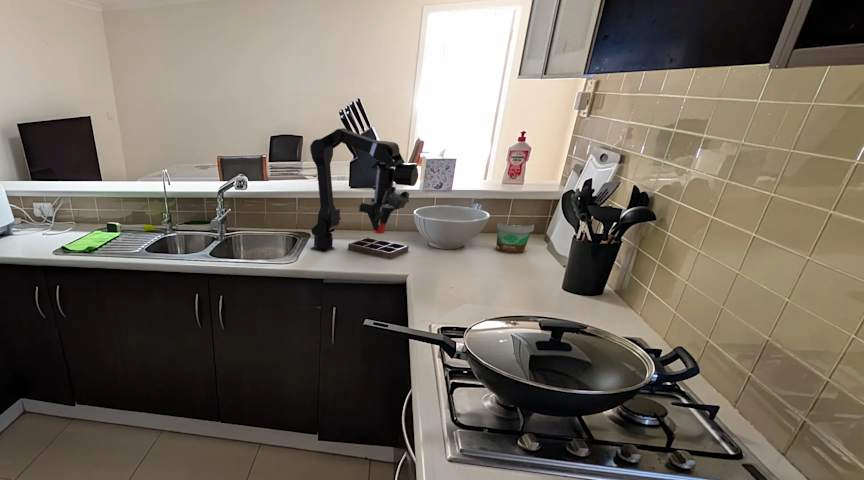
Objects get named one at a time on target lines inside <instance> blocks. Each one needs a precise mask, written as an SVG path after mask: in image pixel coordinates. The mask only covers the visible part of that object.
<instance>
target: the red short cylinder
mask: <svg viewBox="0 0 864 480" xmlns="http://www.w3.org/2000/svg"><path fill="white" fill-rule="evenodd" d="M386 226H387V223H386V224H385V223H382V222H380V221H379V225H378V229H377V231H375V230H374V229H373V228H372V229H373V230H372V233H374V234H380V235H382V234H385V233H386Z"/></svg>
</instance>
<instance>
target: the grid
mask: <svg viewBox="0 0 864 480" xmlns="http://www.w3.org/2000/svg"><path fill="white" fill-rule="evenodd" d="M409 247H410V245H407V244H402V243H396V242H392V241H388V240H384V239H383V240H382V239H377V238H372V237H363V238H361V239H358V240H356V241H353V242H350V243H348V245H347V250H348V251H352V252H357V253H360V254H365V255H369V256H373V257H374V256H375V257H378V258H383V259H386V260H391V259H393V258H396V257H398V256H401V255H403V254H406V253H409Z"/></svg>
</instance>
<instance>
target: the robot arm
mask: <svg viewBox="0 0 864 480" xmlns="http://www.w3.org/2000/svg"><path fill="white" fill-rule="evenodd" d="M341 144H344V145H347V146H350V147H352V148H355V149H357V150H360V151H363V152H366V153H367V154H369V155H370V156H371V157H372V158H373V159H375V160H376V161H375V163H374V164H373V165H371V167H370V168H371V169H375V170H376V177H375V185H373V186H372V190H374V195H373V198H371V200H370V201H365V202H361V203H360V204H359V206H358V212H361V213H366V214H367V216H368V218H369V220H370V223H371V226H372V229H374V230H375V231H377V229H378V225H379V222H382V223H385V224H386V225H387V222H388V221H389V219H390V216H391V214H393V212H394V211H397V210H399V209H403V208H405V206H406V204H407V203H409V202H410V201H409V199H410V197H409V196H410V193H409V191H406V190H405V191H402V192H397V187H396V186H395V185H400V186H410V187H414V186H415V185H416V184H417V183H418V182H417V181H418V179H419V170H418V168H417V167H418V164H417V163H415V162H413V163H407V162H405V159H404V158H403V156H402V154H401V152H400V147H399V145H398V143H396V142H394V141H387V140H376V139H373V138H370V137H367V136H364V135H362V134H360V133H356V132H354V131H351V130H349V129H347V128H345V127H342V128H337V129H335V130H333V132H331V133H329V134H327V135H325V136H324V137H322V138H317V139H314V140H313V141H312V142H311V144H310V146H309V152H310V155H311V159H312V162H313V163H314V164H315V167H316V174H317V183H318V184H317V185H318V194H319V205H320V207H319V210H318V214H317V223H316V224H315V225H314V226H312V228H311V229H310V230H311V234H312V236H313V246H312V247H311V248H310V249H311V250H314V251H317V252H322V253H325V252H328V251H330V250H331V251H332V250H334V249H335V247H334V246H333V241H334V238H333V233H334V232H335V231H336V228H337V227H338V226H339V225H340V221H341V220H342V219H341V209H340V208H336V206H335V204H334V196H333V195H334V194H333V183H332V169H331V163H332V159H333V156H334V149H335V148H336V147H338V146H340V145H341ZM394 183H395V185H394Z"/></svg>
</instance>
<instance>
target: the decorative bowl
mask: <svg viewBox="0 0 864 480" xmlns="http://www.w3.org/2000/svg"><path fill="white" fill-rule="evenodd" d="M489 219H490V214H489V212H487V211H484V210H482V209H479V208H475V207H467V206H459V205H430V206H424V207H423V206H422V207H419V208H417V209H414V211H413V220H414V223H415V226H416V228H417V230H418V232H419V233H420V236H421V237H423V238H424V239H425V240H426V241H427V242H428V244H429V246H431V247H432V248H437V249H442V250H443V249H444V250H456V249H461V248H462V247H464V244H466V243H468V242H470V241H472V240H473V239H474V238H476V237H477V236H478V235H479V234H480V233H481V232H482V231H483V230H484V228H485V226H486V225H487V224H488V221H489Z"/></svg>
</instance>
